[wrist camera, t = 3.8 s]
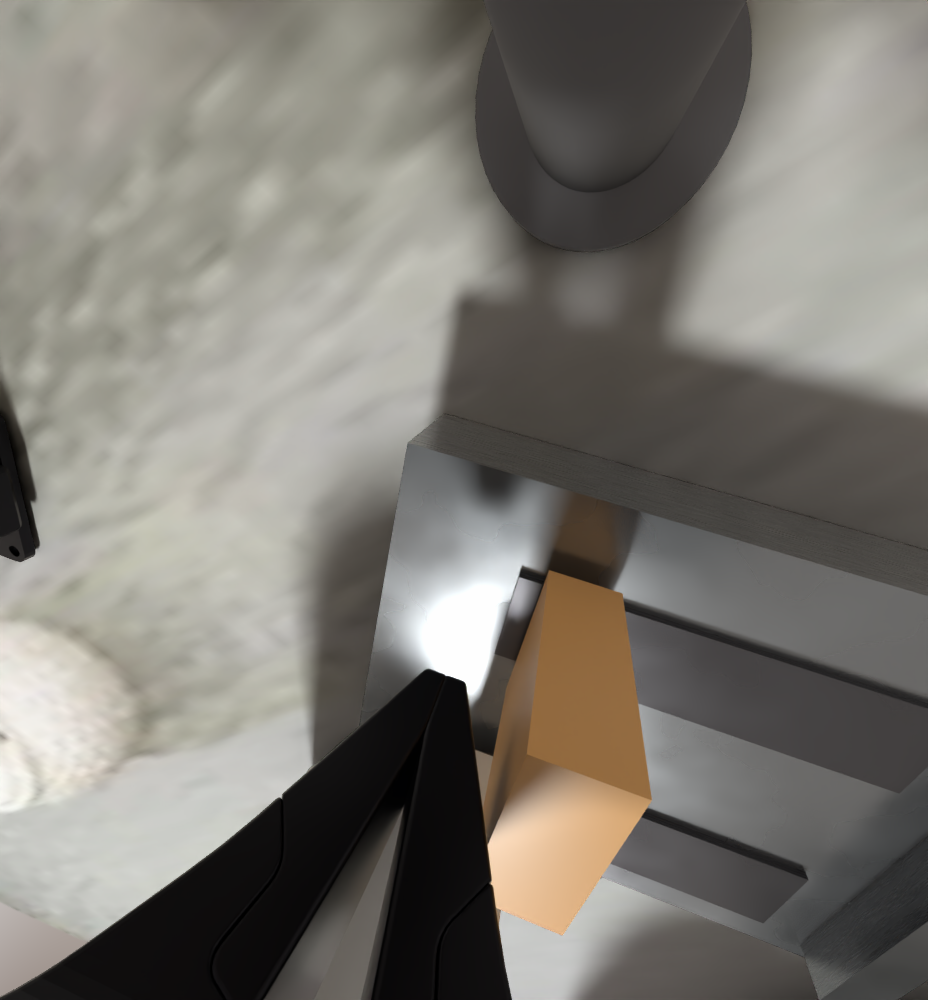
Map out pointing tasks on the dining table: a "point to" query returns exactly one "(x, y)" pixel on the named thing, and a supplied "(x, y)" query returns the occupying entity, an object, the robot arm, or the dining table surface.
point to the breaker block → (699, 682)
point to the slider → (565, 756)
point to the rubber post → (607, 111)
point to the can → (359, 934)
